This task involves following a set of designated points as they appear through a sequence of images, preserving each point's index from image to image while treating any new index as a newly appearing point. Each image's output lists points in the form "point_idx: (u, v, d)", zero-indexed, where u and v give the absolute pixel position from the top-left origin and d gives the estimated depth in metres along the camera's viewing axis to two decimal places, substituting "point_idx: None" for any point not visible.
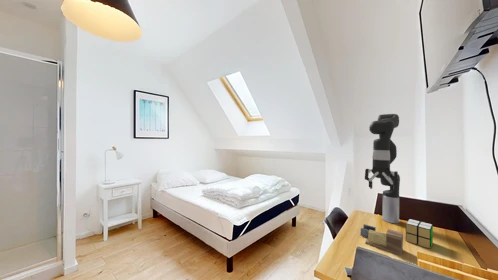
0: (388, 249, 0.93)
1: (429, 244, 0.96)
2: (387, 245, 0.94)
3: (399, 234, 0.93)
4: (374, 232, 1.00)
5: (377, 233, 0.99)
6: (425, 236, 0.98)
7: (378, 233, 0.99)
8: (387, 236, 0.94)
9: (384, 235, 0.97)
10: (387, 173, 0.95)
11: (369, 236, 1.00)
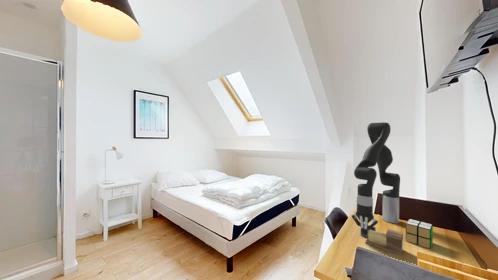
0: (388, 249, 0.93)
1: (429, 244, 0.96)
2: (387, 245, 0.94)
3: (399, 234, 0.93)
4: (374, 232, 1.00)
5: (377, 233, 0.99)
6: (425, 236, 0.98)
7: (378, 233, 0.99)
8: (387, 236, 0.94)
9: (384, 235, 0.97)
10: (370, 218, 1.01)
11: (369, 236, 1.00)
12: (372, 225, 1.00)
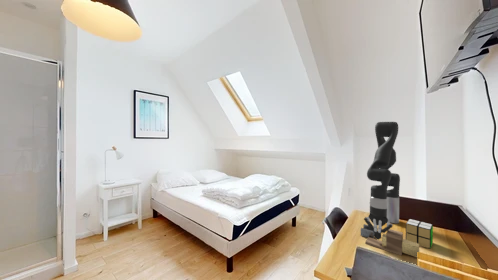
0: (388, 249, 0.93)
1: (429, 244, 0.96)
2: (387, 245, 0.94)
3: (399, 234, 0.93)
4: None
5: None
6: (425, 236, 0.98)
7: None
8: (387, 236, 0.94)
9: None
10: (384, 221, 0.97)
11: (383, 240, 0.96)
12: (386, 229, 0.96)
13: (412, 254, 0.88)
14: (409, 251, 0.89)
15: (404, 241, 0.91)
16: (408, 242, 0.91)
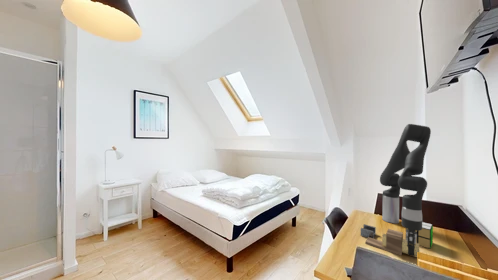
0: (388, 249, 0.93)
1: (429, 244, 0.96)
2: (387, 245, 0.94)
3: (399, 234, 0.93)
4: None
5: None
6: (425, 236, 0.98)
7: None
8: (387, 236, 0.94)
9: None
10: (408, 233, 0.89)
11: (383, 240, 0.96)
12: None
13: None
14: None
15: (404, 241, 0.91)
16: None
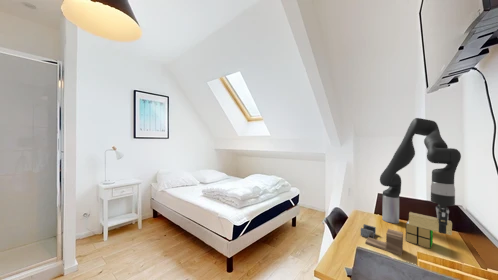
0: (388, 249, 0.93)
1: (429, 244, 0.96)
2: (387, 245, 0.94)
3: (399, 234, 0.93)
4: (416, 214, 0.89)
5: (420, 215, 0.88)
6: (425, 236, 0.98)
7: (421, 215, 0.88)
8: (387, 236, 0.94)
9: (428, 217, 0.86)
10: (439, 209, 0.82)
11: (410, 219, 0.89)
12: (439, 216, 0.81)
13: None
14: None
15: (434, 218, 0.85)
16: None
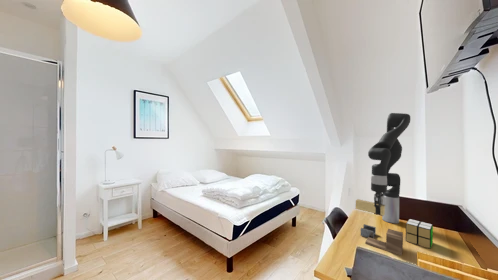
0: (388, 249, 0.93)
1: (429, 244, 0.96)
2: (387, 245, 0.94)
3: (399, 234, 0.93)
4: (361, 200, 1.12)
5: (363, 201, 1.11)
6: (425, 236, 0.98)
7: (364, 201, 1.11)
8: (387, 236, 0.94)
9: (369, 202, 1.09)
10: None
11: (356, 204, 1.12)
12: None
13: None
14: None
15: (373, 203, 1.08)
16: None
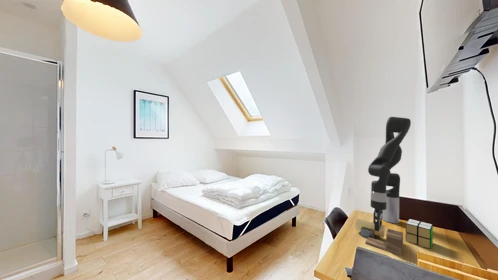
0: (388, 249, 0.93)
1: (429, 244, 0.96)
2: (387, 245, 0.94)
3: (399, 234, 0.93)
4: (360, 221, 1.12)
5: (363, 221, 1.11)
6: (425, 236, 0.98)
7: (364, 221, 1.11)
8: (387, 236, 0.94)
9: (369, 223, 1.09)
10: None
11: (356, 224, 1.12)
12: None
13: (378, 234, 1.05)
14: (377, 232, 1.05)
15: (373, 224, 1.08)
16: None
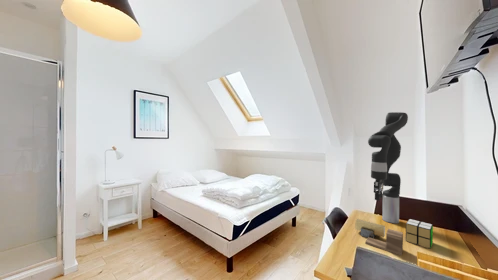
0: (388, 249, 0.93)
1: (429, 244, 0.96)
2: (387, 245, 0.94)
3: (399, 234, 0.93)
4: (360, 221, 1.12)
5: (363, 221, 1.11)
6: (425, 236, 0.98)
7: (364, 221, 1.11)
8: (387, 236, 0.94)
9: (369, 223, 1.09)
10: None
11: (356, 224, 1.12)
12: None
13: (378, 234, 1.05)
14: (377, 232, 1.05)
15: (373, 224, 1.08)
16: (376, 225, 1.07)
